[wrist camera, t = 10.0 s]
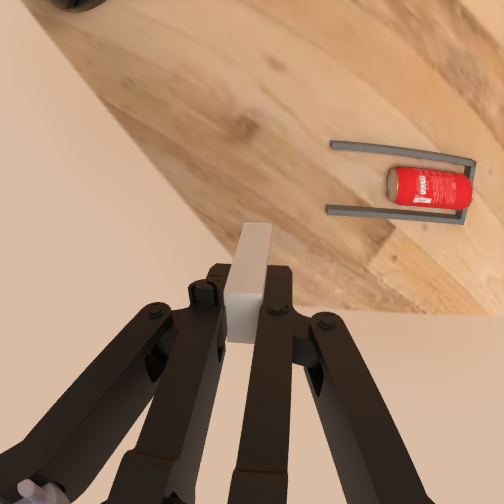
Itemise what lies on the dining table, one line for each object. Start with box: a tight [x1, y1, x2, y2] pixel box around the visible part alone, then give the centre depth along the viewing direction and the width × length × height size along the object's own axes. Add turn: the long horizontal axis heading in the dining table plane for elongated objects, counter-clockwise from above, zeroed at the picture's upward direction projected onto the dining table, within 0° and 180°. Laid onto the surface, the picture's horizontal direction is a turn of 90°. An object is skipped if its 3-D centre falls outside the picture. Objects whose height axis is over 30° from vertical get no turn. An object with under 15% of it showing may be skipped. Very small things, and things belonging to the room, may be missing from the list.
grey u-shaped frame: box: [326, 140, 476, 225], centre depth 40 cm, size 22×10×2 cm, turn 89°
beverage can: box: [388, 167, 473, 210], centre depth 38 cm, size 5×5×12 cm
